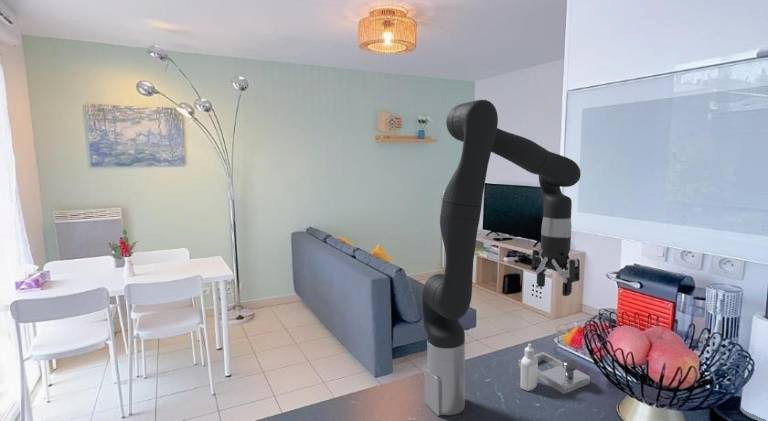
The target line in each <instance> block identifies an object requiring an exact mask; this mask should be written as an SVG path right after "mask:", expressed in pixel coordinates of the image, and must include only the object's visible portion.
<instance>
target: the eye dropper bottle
mask: <svg viewBox="0 0 768 421" xmlns="http://www.w3.org/2000/svg"><path fill="white" fill-rule="evenodd" d="M534 355H535V348H533V347H532V343H528V344H527V347H524V356H523V357H522V358H521V359H522V361H521V368H520V385H519V386H520V389H522V390H524V391H527V392H530V391H532V390H534V389H536V388H537V386H538V369H539V366H538V364H539V362H538V359H537V357H536V356H534Z"/></svg>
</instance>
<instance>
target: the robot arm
mask: <svg viewBox="0 0 768 421" xmlns="http://www.w3.org/2000/svg"><path fill="white" fill-rule="evenodd" d="M498 124H499V115H498V111H497V108H496V106H495V105H494V103H492V102H491V101H490V100H487V99H476V100H473V101H468V102H467V101H466V102H464V103H463V102H462V103H460V104H457V105H455V106H454V107H452V108H451V109H450V111H449V112H448V114H447V116H446V124H445V125H446V128H447V131H448V133H449V134H450V136H451V137H452V138H454V139H456V140H457V141H458V142H459V141H460V142H463V144H462V151H461V157H460V159H459V162H458V166H457V167H456V168H455V171H454V173H453V174H452V176H451V178H450V180H449V182H448V184H447V186H446V188H445V190H444V193H443V196H442V201H441V209H440V215H439V228H440V232H441V238H442V243H443V246H444V251H445V269H444V273H435V274H433V275H431V276H429V277H428V279H427V280H426V281H425V283H424V285H423V287H422V288H423V289H422V295H421V296H422V297H421V301H422V320H423V321H422V322H423V326H424V329H425V333H426V345H427V346H426V347H427V348H426V349H427V350H426V352H427V353H426V354H427V356H426V357H427V367H424V371H423V372H424V374H423V375H424V376H423V377H424V378H423V379H424V403H425V405H427V407H428V408H430V410H431V411H432V412H434V414H435V415H436V416H437V417H440V416H455V415H458V414H461V413H462V412H463V411H464V410H465V408H466V362H465V361H466V358H465V357H466V356H465V355H466V352H465V350H466V348H465V347H466V345H465V344H466V342H465V341H466V335H465V334H466V332H465V329H464V327H463V326H462V324H461V322H460V319H462V318H463V317H464V316H465V315H466V314H467V312H468V310H469V309H470V305H471V301H472V295H473V279H474V278H473V277H474V276H473V275H474V274H473V273H474V261H475V251H476V245H477V236H478V230H479V224H480V219H481V213H482V207H483V206H482V205H483V197H484V189H485V184H486V178H487V172H488V166H489V162H490V157H491V155H492V154H491V153H493V154H494V155H496V156H499V157H501V158H502V159H505V160H507V161H508V162H511V163H512V164H514V165H516V166H518V167H520V168H521V169H523V170H525V171H527V172H529V173H530V174H532V175H538V182H539V188H540V191H541V195H542V201H543V212H542V213H543V214H542V216H543V217H542V222H541V231H540V232H541V235H540V236H541V237H540V249H534V250H532V256H531V266H530V269H531V270H532V271H534V272H535V273H536V284H537V287H539V288H543V287H545V285H546V271H548V270H552V271H554V272H557V274H558V275H559V276H561V279H562V281H563V282H562V292H561V295H562V296H564V297H568V296H570V295H571V294H572V292H573V291H572V288H573V286H572V285H573V283H574V282H575V283H576V282H579V281H580V278H581V276H580V268H581V267H580V264H581V263H580V259H579V258H570V255H569V254H570V251H571V243H572V229H573V228H572V227H573V226H572V225H573V224H572V207H573V206H572V205H573V204H572V197H571V198H570V196H568V195H565V194H563V192H562V189H561V188H569V187H572V186H574V185H576V184H577V183H578V182H579V181H580V179H581V173H582V172H581V168H580V166H579V165H578V163H577V162H575V161H574V160H572V159H571V158H569V157H566V156H564V155H560V154H558V153H555V152H552V151H549V150H547V149H546V148H545V147H543V146H542V145H539V144H538V143H537V142H535V141H533V140H531V139H529V138H526V137H524V136H521V135H518V134H515V133H511V132H508V131H506V130H503V129H500V128H498Z"/></svg>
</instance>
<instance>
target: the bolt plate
mask: <svg viewBox="0 0 768 421" xmlns="http://www.w3.org/2000/svg"><path fill="white" fill-rule="evenodd" d="M534 356H536V357H537V359H538V363H539V362H542V361H544V362H546V363H547V364H549V365H551V366H552V368H549V369H546V370H543V371H542V370H540V369H539V368H538V378H537V380H538V379H539V381H542V382H544V383H545V384H546V385H549V386H550V387H551V388H553V389H555V390H556V391H558V392H559V393H561V394H563V395H565V394H567V393H570V392H572V391H575V390H577V389H580V388H583V387H584V386H588V385H590V384H591V376H589V375H588V374H586V373H584V372H583V371H580V370H578V362H576V361H575V360H573V359H570V358H567V359H563V360H562V361H561V360H559V359H558V358H555V357H554V356H552V355H551V354H548V353H546V352H544V351H542V352H541V351H540V352H539V353H536V354H535V353H534ZM522 359H523V358H520V359H518V362H517V364H518V368H520V369H521V361H522Z"/></svg>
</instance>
